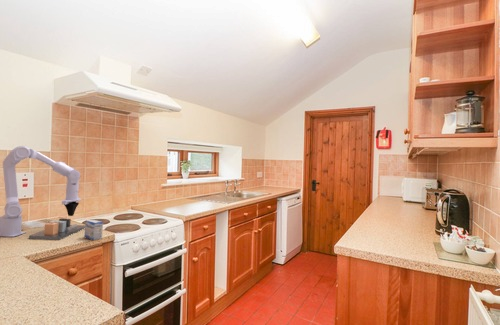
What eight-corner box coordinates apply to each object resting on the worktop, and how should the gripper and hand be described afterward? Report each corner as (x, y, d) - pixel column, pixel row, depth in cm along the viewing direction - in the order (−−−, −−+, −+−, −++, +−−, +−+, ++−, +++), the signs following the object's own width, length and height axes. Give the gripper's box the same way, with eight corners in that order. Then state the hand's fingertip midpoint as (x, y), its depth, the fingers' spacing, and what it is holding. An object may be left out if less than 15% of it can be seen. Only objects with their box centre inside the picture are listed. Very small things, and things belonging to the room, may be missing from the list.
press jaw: (47, 231, 139) (48, 221, 139) (58, 227, 148) (59, 218, 148) (62, 232, 140) (62, 222, 140) (72, 228, 148) (72, 219, 148)
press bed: (28, 238, 131) (29, 231, 131) (60, 227, 156) (61, 220, 156) (59, 240, 132) (59, 232, 132) (86, 228, 157) (86, 222, 157)
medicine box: (83, 237, 138) (85, 220, 138) (92, 235, 142) (93, 219, 142) (93, 240, 135) (94, 222, 135) (102, 238, 139) (103, 221, 139)
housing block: (44, 234, 135) (45, 222, 135) (49, 232, 139) (50, 220, 139) (52, 234, 135) (53, 222, 135) (58, 232, 139) (58, 220, 139)
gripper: (72, 193, 146) (70, 218, 146) (86, 190, 160) (85, 213, 160) (58, 192, 145) (56, 218, 145) (74, 189, 160) (72, 213, 160)
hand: (70, 215), depth 153 cm, fingers closed
